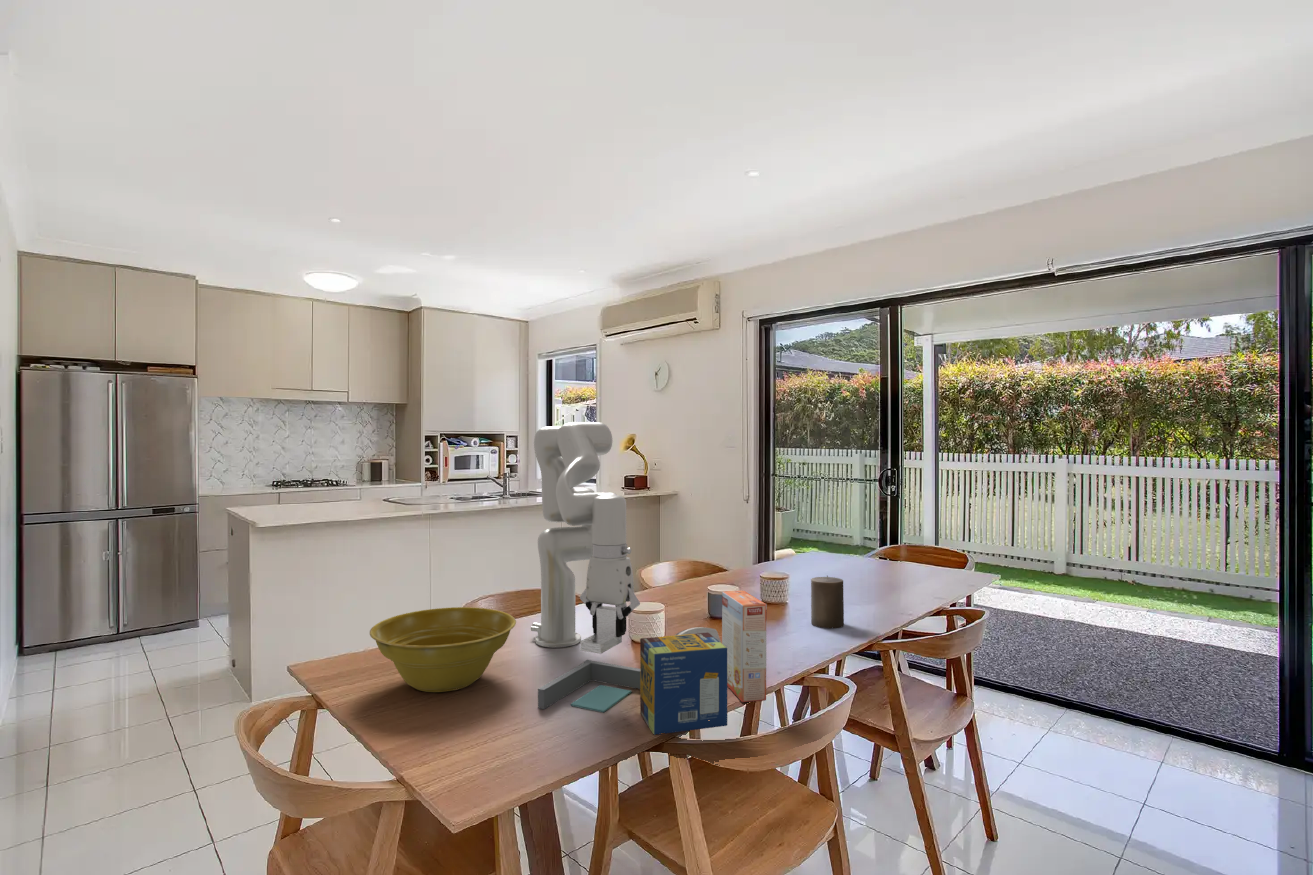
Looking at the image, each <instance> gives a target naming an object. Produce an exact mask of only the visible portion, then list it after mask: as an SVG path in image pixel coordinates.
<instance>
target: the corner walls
mask: <svg viewBox="0 0 1313 875" xmlns="http://www.w3.org/2000/svg"><path fill="white" fill-rule="evenodd" d="M590 681H594V682H597V683H598V682H600V683H603V684H610V685H615V686H620V687H625V686H626V687H627V688H630V687H632V688H631V689H636V688H638V689H637V690H640V668H637V667H632V666H625V665H619V664H615V663H614V664H613V663H608V662H601V661H595V660H591V659H590V660H589V659H586V660H584V661H583V663H581V664H580V665H578V666H576V667H574V668H572V669H571V670H569V671H567V672H565V673H563V674H562V675H560V676H559V677H556V678H555V679H553V680H551V681H549V682H548V683H546V684H544V685H542V686H540V687H539V688H538V689H537V708H538V709H541V710H545V709H547V708H548V707H550V706H552V705H553V704H556V702H559V701H560V700H561V699H564V697H566V696H568V695H569V694H571V693H572V692H574V691H576V690H577V689H579V688H581V687H583V686H584V685H586V684H587V683H590Z"/></svg>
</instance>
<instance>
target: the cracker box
mask: <svg viewBox="0 0 1313 875" xmlns="http://www.w3.org/2000/svg"><path fill="white" fill-rule="evenodd" d="M721 599H722V600H721V603H722V604H721V612H722V614H721V618H722V619H721V625H722V626H721V643H722V644H723V645H724V646H725V647H727V688H729V690H730V691H731V692H732V693H733V694H734V695H735V696H736V697H737V699H738V700H740V701H741V703H749V702H750V703H752V702H765V701H767V624H768V622H767V614H768V613H767V612H768V611H767V610H768V609H767V608H768V607H767V606H768V605H767V603H765V602H763V601H762V600H760V599H758V598H757V597H755V596H754V595H751V593H748V592H747V591H746V590H729V591H722V596H721Z"/></svg>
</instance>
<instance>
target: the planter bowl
mask: <svg viewBox="0 0 1313 875" xmlns="http://www.w3.org/2000/svg"><path fill="white" fill-rule="evenodd" d="M516 623H517V620H516V618H515V617H514V616H513V615H511V614H510V613H507V612H504V611H503V610H502V611H501V610H498V609H492V608H487V607H486V608H484V607H473V606H472V607H470V606H469V607H468V606H465V607H464V606H463V607H462V606H461V607H460V606H459V607H458V606H456V607H441V608H440V607H439V608H437V607H436V608H431V609H423V610H416V611H411V612H406V613H402V614H399V615H394V616H391V617H389V618H386V619H383V620H381V621H379V622H378V623H376V624H375V625H373V626H372V627H371V628H370V630H369V636H370V638H372V640H374V641H375V642H376V645H377V647H378V650H379V652H380V653H381V654H382V656H383V657H385V658H386V659H389V660H390V661H391V662H392V663H393V664H394V666H395V669H396V670H397V673H399V675H400V676H401V678H402V679H403V681H404V682H405V683H406V684H407V685H408V686H411V687H412V688H413V689H416V690H417V691H422V692H426V693H427V692H428V693H444V692H445V693H446V692H453V691H456V690H457V691H458V690H460V689H464V688H467V687H468V686H470V685H472V684H473V683H475V681H477V680H478V679H480V678H481V677H482V675H483V674H484V673H485V671H486V669H487V668H488V666H489V664H490V663H491V661H492V658H493V656H494V654H495V653H496V652H497V651H498V650H500V649H501V648H502V647H503V646H504V645H505V643H506V642H507V640H508V638H509V635H510V634H511V630H513V629H514V627H515V626H516V625H517V624H516Z"/></svg>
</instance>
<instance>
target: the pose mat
mask: <svg viewBox="0 0 1313 875" xmlns="http://www.w3.org/2000/svg"><path fill="white" fill-rule="evenodd" d="M631 693H632V690H630V689H623V688H620V687H614V686H608V685H602V684H600V685H597V686H596V687H595V688H593V689H592V690H590V691H589V692H587V693H585V694H584V695H583V696H581V697H579V698H577V699H576V700H574V701H573V702H572V703H570V706H571V707H576V708H581V709H585V710H591V711H593V712H594V711H595V712H599V713H606V712H607V711H608V710H609V709H611V708H612V707H614V706H615V705H616V704H618V703H619V702H621V701H622V700H623V699H624V698H626V697H628V696H629V695H630V694H631ZM628 694H629V695H628ZM617 702H618V703H617Z"/></svg>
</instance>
